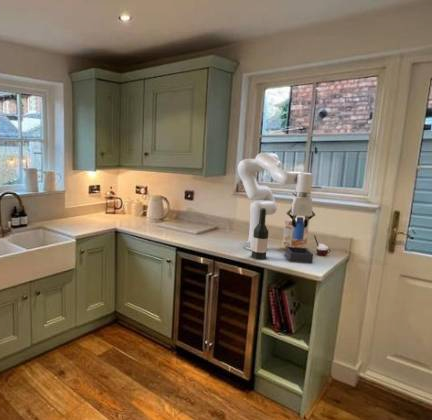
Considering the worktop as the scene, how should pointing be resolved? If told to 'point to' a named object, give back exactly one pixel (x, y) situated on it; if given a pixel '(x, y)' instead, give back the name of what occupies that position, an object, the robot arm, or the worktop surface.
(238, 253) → the worktop surface
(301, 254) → the dark grey tray
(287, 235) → the coffeecake box
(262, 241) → the wine bottle
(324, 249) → the cocoa
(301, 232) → the bottle
